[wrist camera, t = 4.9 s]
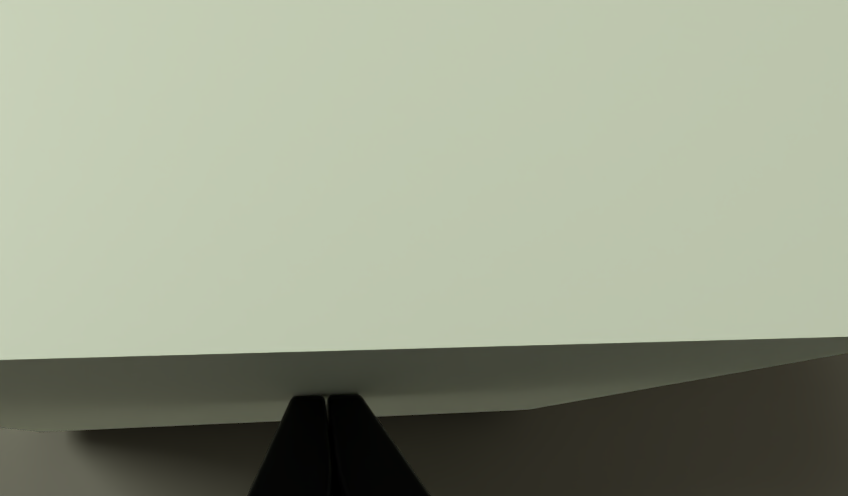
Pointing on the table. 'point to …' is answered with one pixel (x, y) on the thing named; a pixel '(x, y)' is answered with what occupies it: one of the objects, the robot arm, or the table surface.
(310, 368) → the green block
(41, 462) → the table surface
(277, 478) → the robot arm
